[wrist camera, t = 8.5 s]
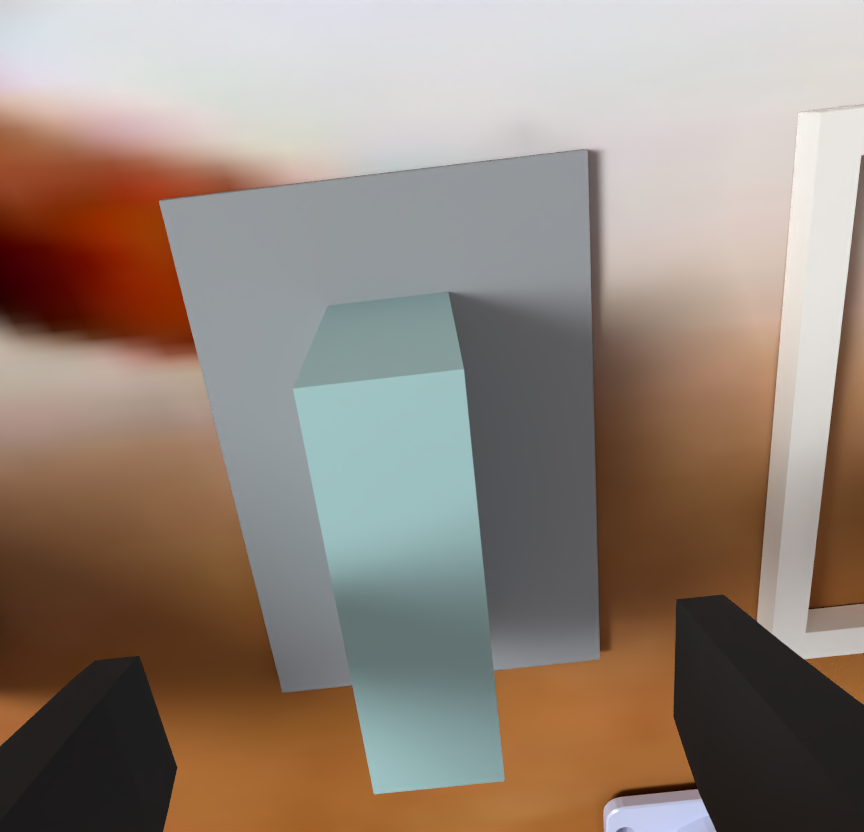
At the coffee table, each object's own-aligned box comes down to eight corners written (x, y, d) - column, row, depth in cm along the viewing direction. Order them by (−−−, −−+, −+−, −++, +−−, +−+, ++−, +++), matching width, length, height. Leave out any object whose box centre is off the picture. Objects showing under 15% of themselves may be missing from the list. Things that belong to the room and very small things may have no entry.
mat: (597, 650, 18) (600, 659, 18) (284, 684, 18) (282, 692, 18) (584, 148, 14) (587, 150, 13) (164, 199, 14) (158, 201, 13)
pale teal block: (481, 617, 17) (504, 780, 13) (382, 628, 17) (374, 794, 13) (448, 291, 14) (463, 369, 10) (327, 305, 14) (292, 388, 10)
